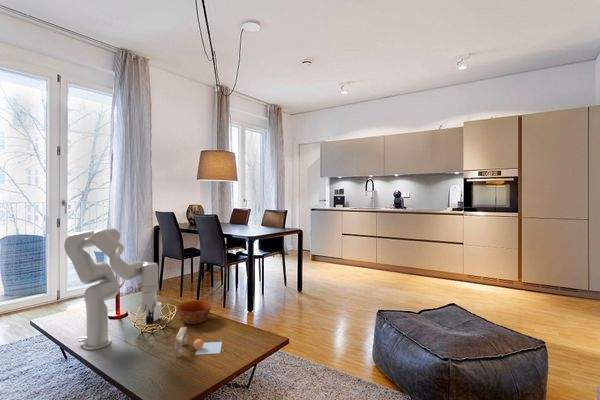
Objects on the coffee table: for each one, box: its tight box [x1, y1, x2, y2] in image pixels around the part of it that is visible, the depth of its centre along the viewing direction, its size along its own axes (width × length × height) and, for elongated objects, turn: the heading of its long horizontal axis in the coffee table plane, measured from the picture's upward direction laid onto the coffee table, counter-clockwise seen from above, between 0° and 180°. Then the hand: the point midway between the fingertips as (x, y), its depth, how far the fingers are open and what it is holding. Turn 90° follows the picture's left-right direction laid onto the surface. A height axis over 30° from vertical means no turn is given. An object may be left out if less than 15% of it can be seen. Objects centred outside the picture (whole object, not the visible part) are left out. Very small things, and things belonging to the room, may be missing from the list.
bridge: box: [174, 326, 188, 358], centre depth 166 cm, size 3×14×9 cm, turn 9°
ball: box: [193, 338, 205, 351], centre depth 167 cm, size 5×5×5 cm
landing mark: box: [194, 341, 223, 356], centre depth 169 cm, size 12×12×1 cm
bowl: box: [176, 300, 213, 325], centre depth 202 cm, size 21×21×10 cm
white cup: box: [154, 301, 162, 319], centre depth 203 cm, size 8×8×10 cm
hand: (149, 323), depth 164 cm, fingers closed
